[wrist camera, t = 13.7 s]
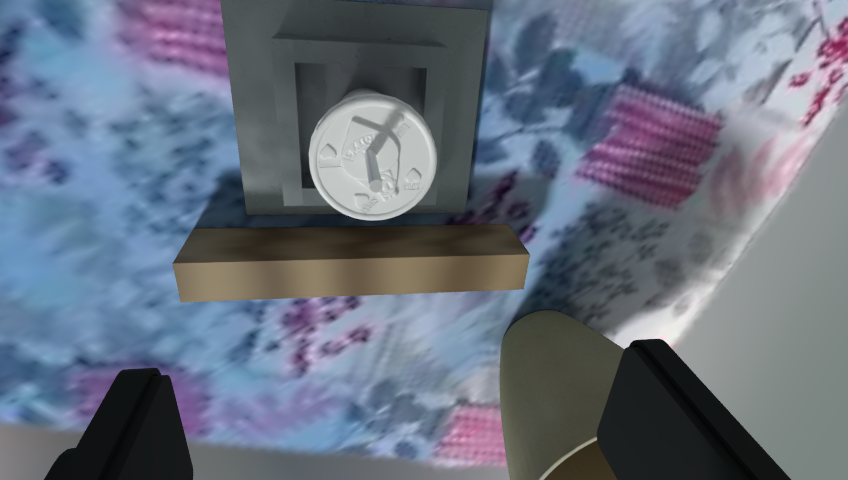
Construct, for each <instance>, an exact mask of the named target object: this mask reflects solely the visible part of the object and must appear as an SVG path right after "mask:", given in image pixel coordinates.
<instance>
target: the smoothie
mask: <svg viewBox="0 0 848 480" xmlns="http://www.w3.org/2000/svg"><path fill="white" fill-rule="evenodd" d="M309 166H310V172H311V176H312V179H313V182H314V184H315V186H316V188H317V190H318V191H319V193H320V194H321V196H322V197H323V198H324V199H325V200H326V201H327V202H328V203H329V204H330V205H331V206H332V207H333V208H335V209H336V210H338V211H339V212H341V213H343V214H345V215H347V216H350V217H353V218H357V219H361V220H371V221H374V220H384V219H389V218H393V217H396V216H398V215H400V214H402V213H404V212H406V211H408V210H409V209H411V208H412V207H413V206H415V205H416V204H417V203H418V202H419V201H420V200H421V199H422V198H423V197H424V195H425V194H426V193H427V191H428V189H429V188H430V186H431V184H432V181H433V179H434V175H435V172H436V166H437V153H436V147H435V143H434V140H433V137H432V134H431V131H430V129H429V127H428V126H427V124H426V122H425V121H424V119H423V117H422V116H421V115H420V114H419V113H417V112H416V111H415V110H414V109H413V108H412V107H411V106H410V105H408V104H406V103H404V102H403V101H401V100H399V99H397V98H395V97H391V96H387V95H382V94H380V93H378V92H377V91H375V90H372V89H367V88H361V89H356V90H353V91H351V92H349V93H348V94H347V95H345V96H344V97H343V99H342V100H341V101H340V103H338V104H336V105H335V106H333V107H332V108H330V109H329V110H328V111H327V113H326V114H325V115H324V116H323V117H322V118H321V119H320V121H319V122H318V124H317V126H316V128H315V130H314V132H313V134H312V136H311V141H310V148H309Z"/></svg>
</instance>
